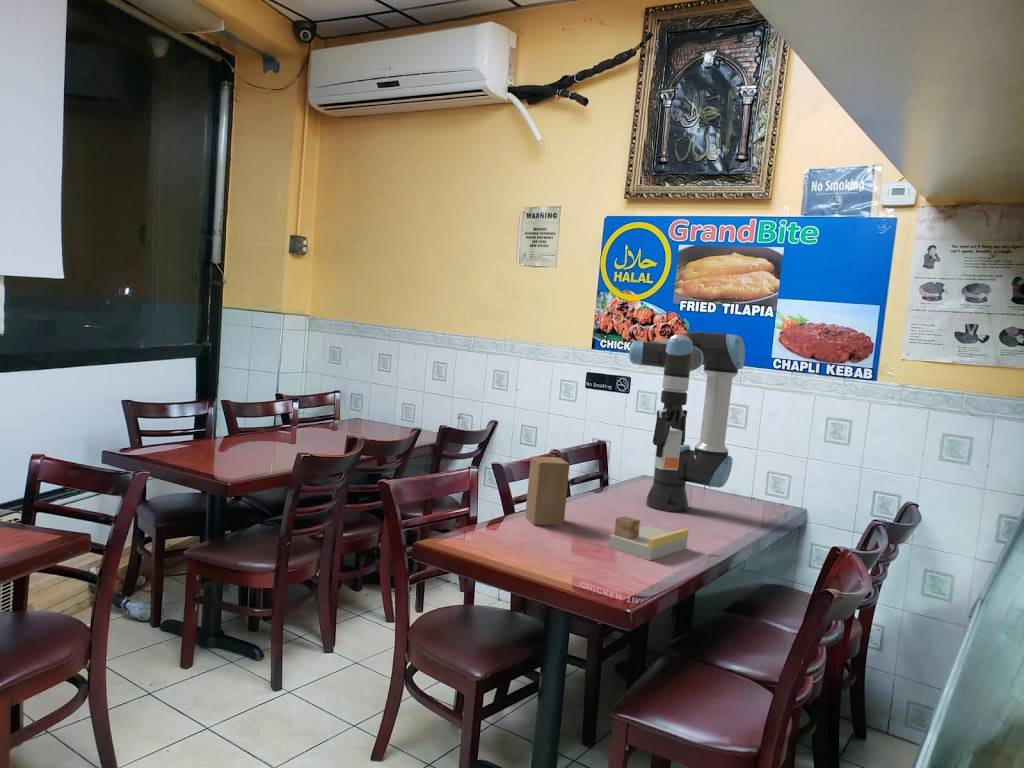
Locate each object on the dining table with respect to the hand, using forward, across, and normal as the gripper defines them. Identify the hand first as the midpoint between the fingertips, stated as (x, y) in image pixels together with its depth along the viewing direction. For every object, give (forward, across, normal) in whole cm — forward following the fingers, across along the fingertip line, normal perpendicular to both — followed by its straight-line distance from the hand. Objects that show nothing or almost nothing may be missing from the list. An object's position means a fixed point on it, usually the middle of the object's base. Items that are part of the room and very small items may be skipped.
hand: (666, 466), depth 226 cm
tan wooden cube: (+20, +13, -3) cm, 24 cm away
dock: (+24, +7, +1) cm, 25 cm away
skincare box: (+1, 0, 0) cm, 1 cm away
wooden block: (+24, +13, -34) cm, 43 cm away
